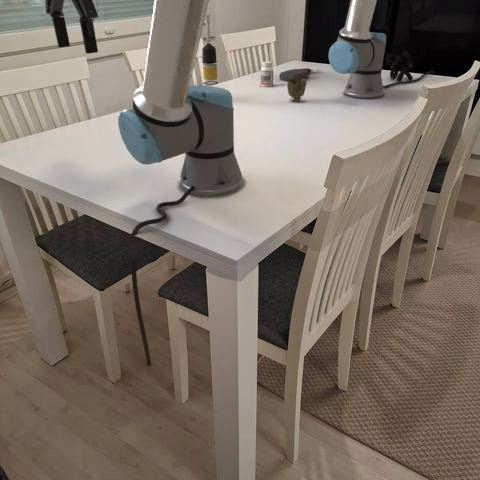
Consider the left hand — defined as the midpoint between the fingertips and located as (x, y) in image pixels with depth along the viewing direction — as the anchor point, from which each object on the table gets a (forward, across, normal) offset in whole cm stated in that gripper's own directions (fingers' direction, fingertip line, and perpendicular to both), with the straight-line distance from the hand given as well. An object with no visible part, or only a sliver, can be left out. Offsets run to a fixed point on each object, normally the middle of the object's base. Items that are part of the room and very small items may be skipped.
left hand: (77, 49), depth 106 cm
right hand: (-11, -28, +98) cm, 103 cm away
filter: (+29, -29, +67) cm, 79 cm away
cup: (+29, -2, +86) cm, 91 cm away
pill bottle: (+29, -27, +98) cm, 106 cm away
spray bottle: (+29, -28, +122) cm, 129 cm away
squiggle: (+29, +11, +144) cm, 148 cm away
